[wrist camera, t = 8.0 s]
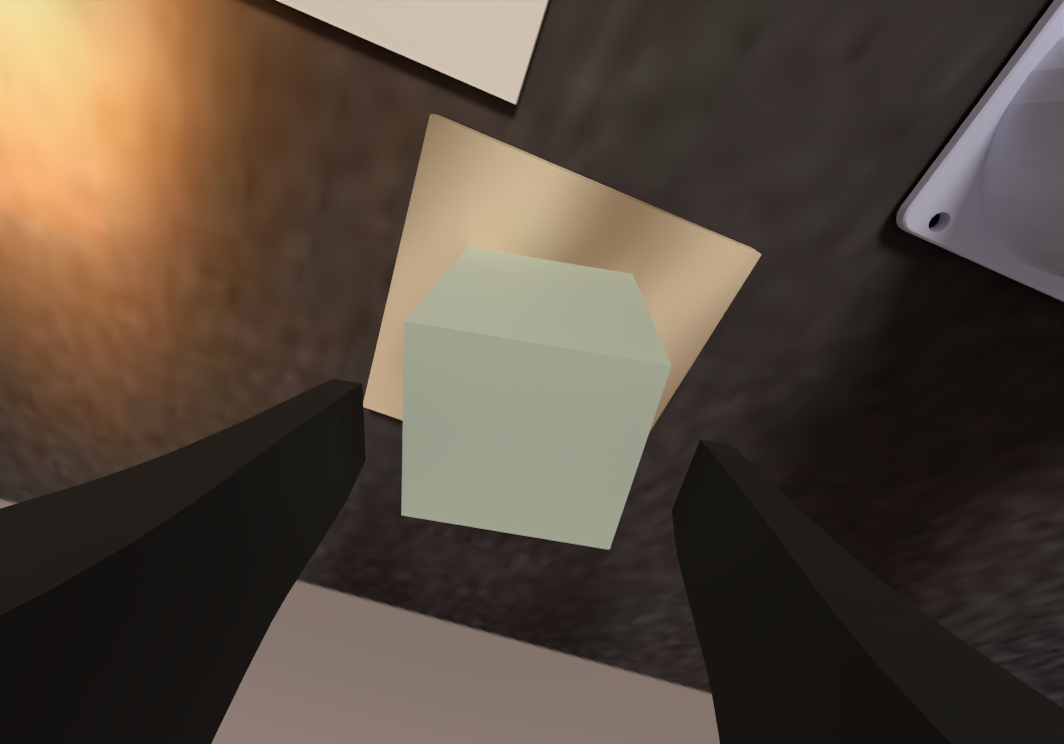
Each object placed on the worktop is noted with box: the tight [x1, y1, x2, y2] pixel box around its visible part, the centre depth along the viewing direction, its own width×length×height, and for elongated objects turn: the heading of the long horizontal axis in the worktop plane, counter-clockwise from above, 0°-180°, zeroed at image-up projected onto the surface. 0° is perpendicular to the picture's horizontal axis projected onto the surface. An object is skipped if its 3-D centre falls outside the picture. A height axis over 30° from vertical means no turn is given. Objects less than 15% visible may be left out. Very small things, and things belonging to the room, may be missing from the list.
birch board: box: [363, 114, 762, 431], centre depth 15 cm, size 10×10×1 cm
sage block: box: [401, 246, 671, 550], centre depth 12 cm, size 5×5×6 cm
